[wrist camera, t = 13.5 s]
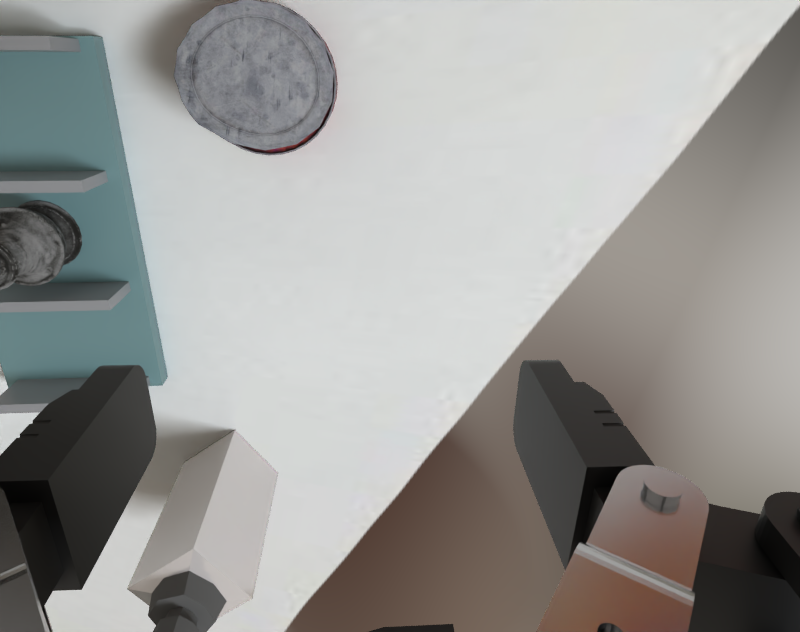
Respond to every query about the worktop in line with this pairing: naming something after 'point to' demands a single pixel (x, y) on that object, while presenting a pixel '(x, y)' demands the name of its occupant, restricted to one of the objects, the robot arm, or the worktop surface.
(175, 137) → the worktop surface
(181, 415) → the worktop surface
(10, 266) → the grey chess piece
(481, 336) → the worktop surface
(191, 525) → the soap dispenser
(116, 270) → the rack
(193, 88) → the canned food
